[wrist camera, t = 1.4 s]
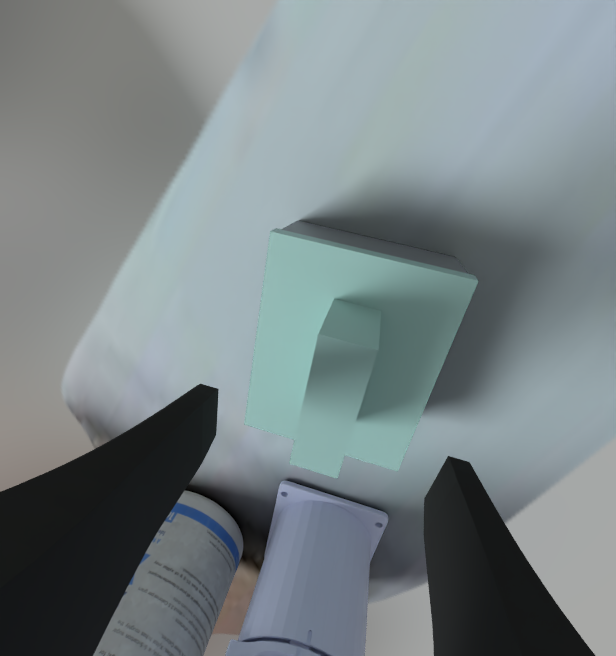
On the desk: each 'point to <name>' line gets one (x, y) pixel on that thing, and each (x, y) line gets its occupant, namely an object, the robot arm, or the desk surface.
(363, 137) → the desk surface
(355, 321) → the lid
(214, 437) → the robot arm
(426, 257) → the parts tub
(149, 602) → the supplement tub
